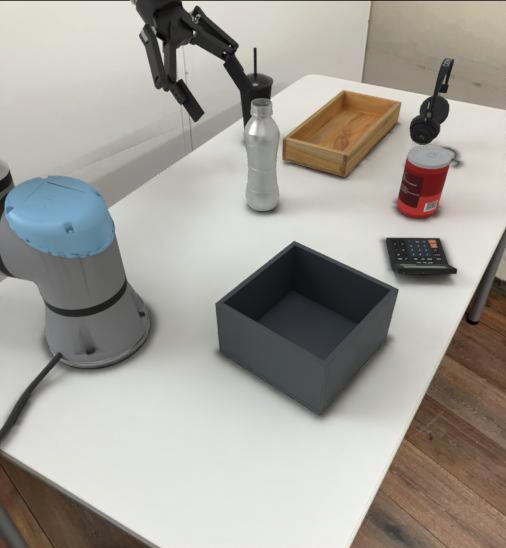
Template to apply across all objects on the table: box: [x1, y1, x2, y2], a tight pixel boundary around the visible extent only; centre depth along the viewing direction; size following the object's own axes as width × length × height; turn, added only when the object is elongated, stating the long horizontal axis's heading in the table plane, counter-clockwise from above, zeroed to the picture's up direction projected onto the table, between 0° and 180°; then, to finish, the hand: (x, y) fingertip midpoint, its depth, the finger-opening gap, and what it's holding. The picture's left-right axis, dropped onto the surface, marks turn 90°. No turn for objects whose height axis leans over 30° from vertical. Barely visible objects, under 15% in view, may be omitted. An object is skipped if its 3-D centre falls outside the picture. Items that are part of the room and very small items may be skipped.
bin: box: [214, 240, 400, 416], centre depth 72 cm, size 18×18×10 cm
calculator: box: [385, 237, 458, 275], centre depth 87 cm, size 9×12×3 cm
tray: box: [281, 89, 402, 178], centre depth 116 cm, size 31×15×6 cm, turn 149°
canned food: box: [396, 144, 453, 219], centre depth 95 cm, size 8×8×11 cm
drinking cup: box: [239, 47, 274, 130], centre depth 112 cm, size 8×8×20 cm
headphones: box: [408, 57, 460, 167], centre depth 104 cm, size 15×11×20 cm
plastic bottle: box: [243, 98, 281, 212], centre depth 93 cm, size 6×7×20 cm
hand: (225, 104), depth 91 cm, fingers open, 13 cm apart
